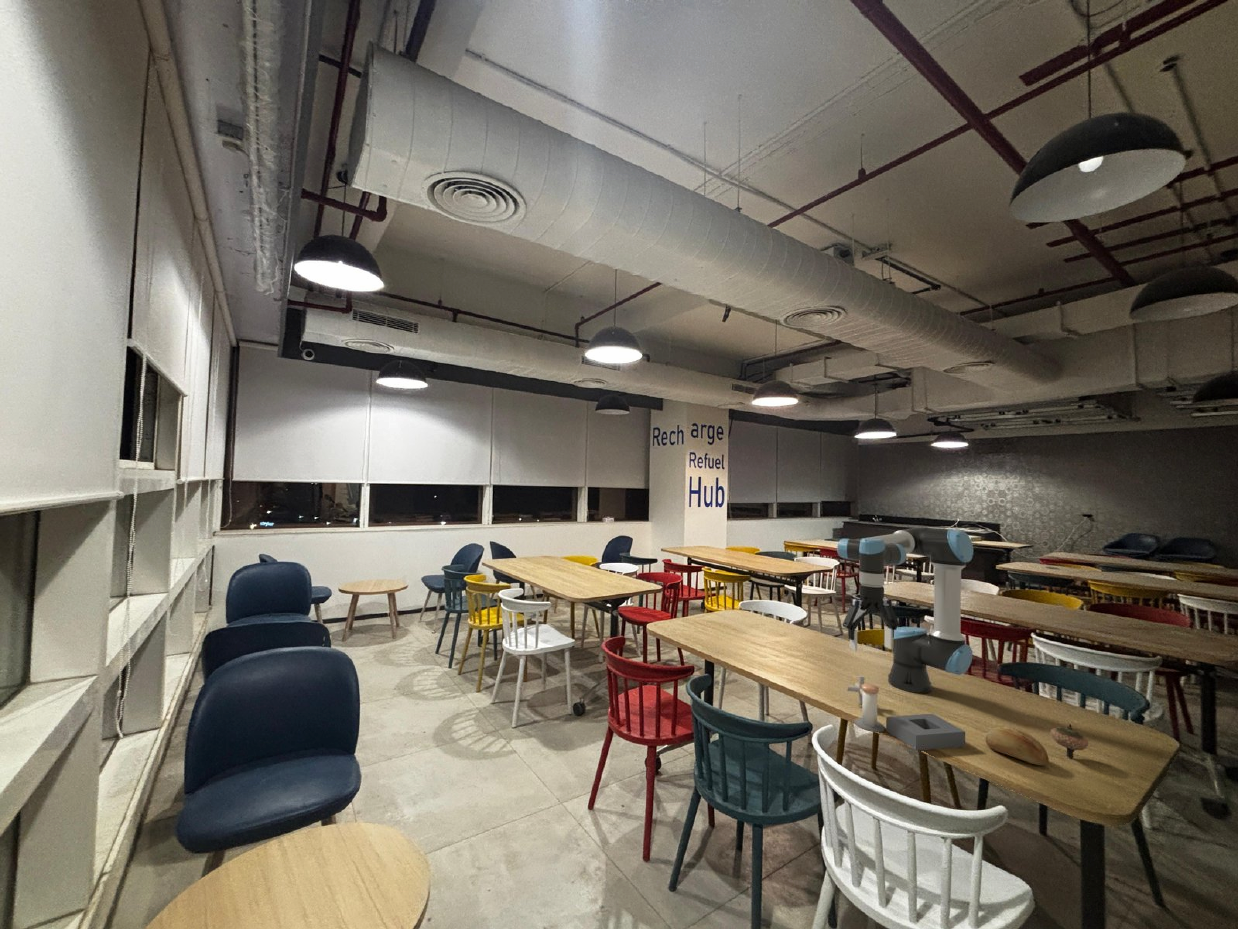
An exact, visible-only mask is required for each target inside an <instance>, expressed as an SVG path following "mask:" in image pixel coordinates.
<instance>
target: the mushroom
mask: <svg viewBox="0 0 1238 929" xmlns="http://www.w3.org/2000/svg"><path fill="white" fill-rule="evenodd" d="M862 690H863V699H862V705H861V706H862V708H861V715H862V716H861V718H862V723H863V724H864V725H865V726H868V727H877V721H878V694H879V690H880V689H879V687H878V686H877V685H874V684H870V683H864V684H862Z"/></svg>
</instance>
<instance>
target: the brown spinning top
mask: <svg viewBox="0 0 1238 929" xmlns="http://www.w3.org/2000/svg"><path fill="white" fill-rule="evenodd" d="M1050 736H1051V737H1052V739H1053V741H1055V742H1056V743H1057V744H1058V745H1060V746H1062V747H1064V748H1066V756H1065V757H1067V758H1070V759H1072V758H1073V759H1074V752H1075V751H1084V750H1085V749H1087V747H1088V746H1089V740H1088V739H1087V738H1086V736H1083V735H1082V734H1080V733H1079V731H1077V730H1074V729H1073V727H1072V724H1071V723H1069V725H1068V727H1064V726H1063V727H1062V726H1061V727H1054V728H1052V729H1051V730H1050Z"/></svg>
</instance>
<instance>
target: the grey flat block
mask: <svg viewBox="0 0 1238 929" xmlns="http://www.w3.org/2000/svg"><path fill="white" fill-rule="evenodd" d="M885 720H886V721H885V722H886V723H885V732H887V733H889V734H890V735H892V736H893V737H894V738H897V739H898V740H899V741H901V743H902V742H903V743H904V744H905V743H906V744H905V745H907V744H908V745H910V746H909V747H910V748H911V749H913V750H914V751H918V752H919V751H926V750H927V751H928V750H929V751H930V750H937V749H951V748H962V747H963V746H964V747H966V731H965V730H964V729H962V728H959V727H958V726H956V725H954V724H953V723H951V722H948V721H947V720H945V719H943V718H941V717H940V716H937V715H936V714H934V713H922V714H910V715H909V714H908V715H907V714H906V715H892V716H890V715H889V716H885ZM908 745H907V746H908ZM914 747H915V748H914ZM950 747H951V748H950Z"/></svg>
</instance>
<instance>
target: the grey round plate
mask: <svg viewBox="0 0 1238 929" xmlns="http://www.w3.org/2000/svg"><path fill="white" fill-rule="evenodd" d="M853 722H854V724H855V725H856V726H857V728H860V729H862V730H864V731H867V732H870V733H882V732H884V731H886V726H884V724H883V723H881V722H880V721H878V720H877V727H869V728H866V727H868V726H865V725H864V724H863V723H862V717H857V718H854V721H853Z"/></svg>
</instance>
